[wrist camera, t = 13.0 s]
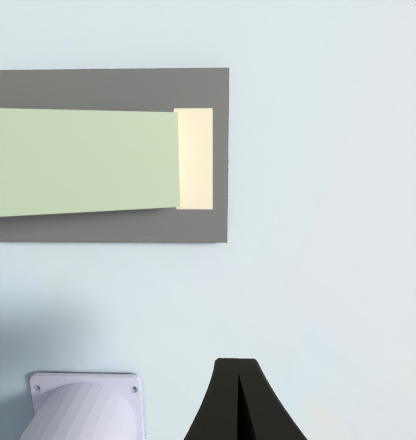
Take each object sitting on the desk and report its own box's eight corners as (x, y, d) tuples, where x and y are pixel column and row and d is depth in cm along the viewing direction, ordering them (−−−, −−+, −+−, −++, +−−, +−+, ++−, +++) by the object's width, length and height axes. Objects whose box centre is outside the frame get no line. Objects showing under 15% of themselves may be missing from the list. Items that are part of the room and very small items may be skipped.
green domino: (177, 112, 16) (-48, 106, 14) (180, 206, 17) (-28, 218, 15) (172, 115, 18) (-32, 111, 15) (175, 202, 19) (-14, 211, 16)
